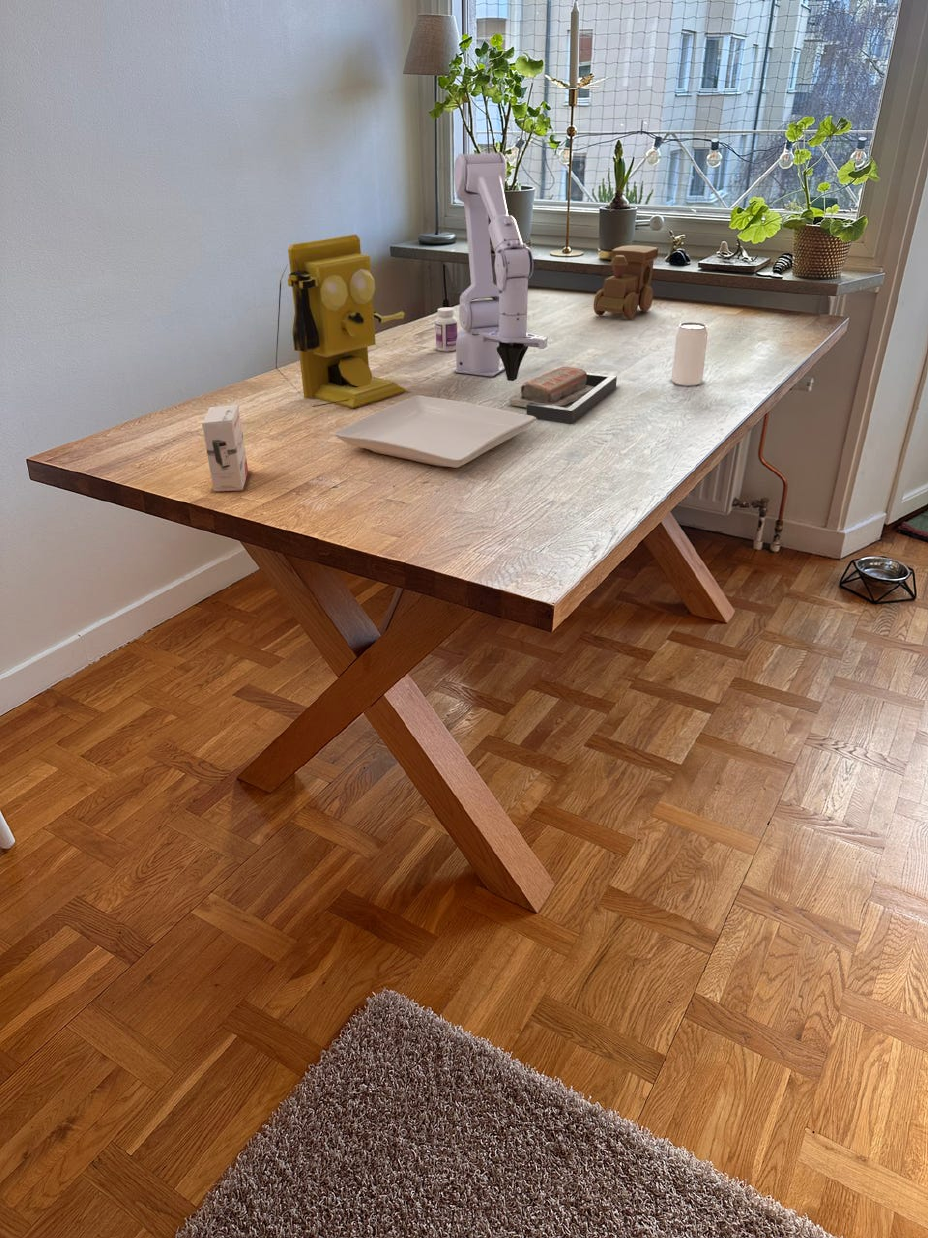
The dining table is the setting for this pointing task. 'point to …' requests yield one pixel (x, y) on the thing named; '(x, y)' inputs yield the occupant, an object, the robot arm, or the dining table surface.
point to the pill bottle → (446, 330)
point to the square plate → (434, 430)
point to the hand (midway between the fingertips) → (512, 379)
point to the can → (689, 354)
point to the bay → (576, 410)
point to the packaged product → (553, 388)
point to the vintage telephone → (335, 321)
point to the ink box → (225, 448)
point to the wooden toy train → (628, 282)
